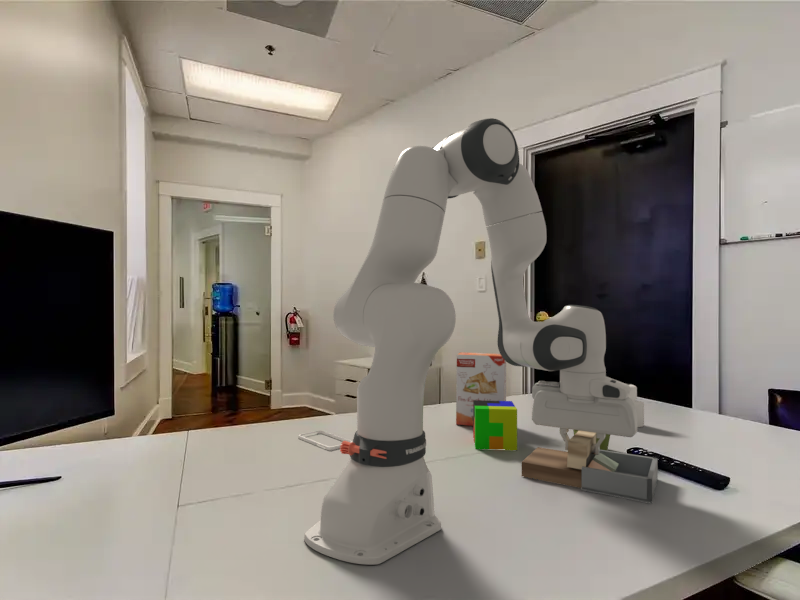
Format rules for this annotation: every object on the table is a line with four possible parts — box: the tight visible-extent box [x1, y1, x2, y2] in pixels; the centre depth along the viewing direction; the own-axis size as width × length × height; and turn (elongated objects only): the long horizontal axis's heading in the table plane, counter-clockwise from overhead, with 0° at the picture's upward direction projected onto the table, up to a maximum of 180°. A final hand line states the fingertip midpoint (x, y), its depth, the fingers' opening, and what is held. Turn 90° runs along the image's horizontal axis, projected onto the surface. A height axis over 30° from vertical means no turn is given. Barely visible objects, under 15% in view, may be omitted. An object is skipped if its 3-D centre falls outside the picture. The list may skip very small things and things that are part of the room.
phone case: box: [297, 430, 353, 452], centre depth 125 cm, size 7×1×15 cm
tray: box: [581, 449, 659, 505], centre depth 96 cm, size 14×12×4 cm
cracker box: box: [455, 351, 507, 427], centre depth 142 cm, size 14×6×21 cm, turn 73°
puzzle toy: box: [472, 400, 518, 451], centre depth 123 cm, size 10×10×10 cm
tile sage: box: [593, 453, 619, 472], centre depth 100 cm, size 4×4×2 cm
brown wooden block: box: [521, 446, 582, 489], centre depth 102 cm, size 12×12×3 cm
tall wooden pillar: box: [567, 430, 596, 470], centre depth 99 cm, size 11×4×5 cm, turn 149°
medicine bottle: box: [626, 383, 645, 429], centre depth 142 cm, size 7×7×12 cm
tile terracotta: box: [588, 460, 610, 471], centre depth 95 cm, size 4×4×2 cm
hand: (582, 451), depth 99 cm, fingers closed on tall wooden pillar, 4 cm apart
